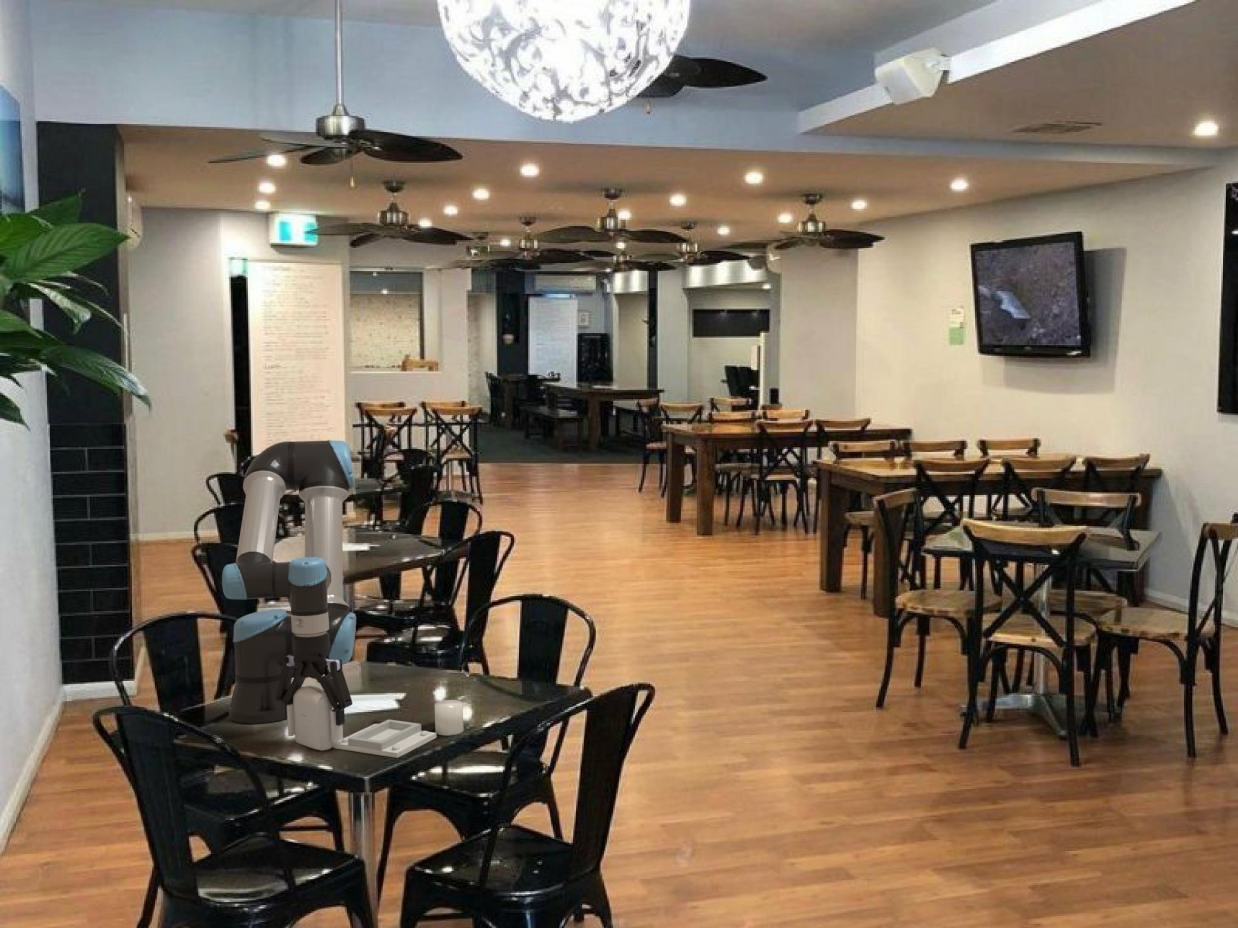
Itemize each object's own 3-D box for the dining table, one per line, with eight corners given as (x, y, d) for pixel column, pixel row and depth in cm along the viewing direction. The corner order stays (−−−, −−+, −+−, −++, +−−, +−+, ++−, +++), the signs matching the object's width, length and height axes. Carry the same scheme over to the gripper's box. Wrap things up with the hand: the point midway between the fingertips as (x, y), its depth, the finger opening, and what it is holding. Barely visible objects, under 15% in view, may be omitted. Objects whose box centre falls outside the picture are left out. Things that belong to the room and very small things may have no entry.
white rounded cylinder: (429, 733, 256) (429, 705, 255) (445, 725, 261) (444, 698, 260) (453, 736, 253) (452, 709, 252) (468, 728, 258) (468, 701, 258)
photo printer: (291, 742, 251) (289, 684, 250) (309, 737, 254) (307, 680, 253) (319, 752, 244) (316, 693, 243) (337, 747, 247) (335, 689, 246)
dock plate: (333, 747, 247) (332, 736, 246) (374, 728, 259) (374, 717, 259) (397, 757, 240) (396, 745, 240) (436, 737, 252) (436, 725, 252)
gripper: (254, 632, 248) (259, 736, 250) (344, 640, 238) (349, 748, 240) (279, 625, 255) (284, 726, 257) (367, 632, 245) (371, 737, 247)
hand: (315, 737), depth 248 cm, fingers open, 11 cm apart
